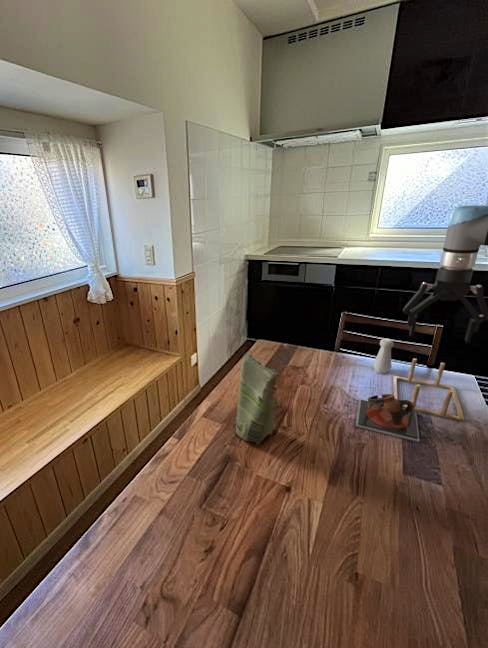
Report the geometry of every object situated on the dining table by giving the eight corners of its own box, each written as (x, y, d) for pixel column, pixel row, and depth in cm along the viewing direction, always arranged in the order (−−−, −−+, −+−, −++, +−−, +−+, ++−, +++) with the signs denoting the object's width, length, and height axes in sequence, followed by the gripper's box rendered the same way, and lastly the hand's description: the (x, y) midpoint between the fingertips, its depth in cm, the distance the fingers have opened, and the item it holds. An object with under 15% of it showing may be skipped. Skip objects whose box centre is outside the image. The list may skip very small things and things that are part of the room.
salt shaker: (393, 371, 126) (400, 340, 121) (383, 376, 124) (390, 345, 119) (378, 365, 131) (384, 335, 126) (369, 370, 129) (375, 339, 123)
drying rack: (453, 388, 115) (461, 365, 111) (463, 421, 100) (472, 396, 96) (393, 377, 123) (398, 355, 119) (393, 406, 108) (399, 382, 104)
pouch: (239, 418, 107) (239, 348, 97) (277, 424, 103) (282, 352, 93) (231, 441, 98) (231, 367, 87) (273, 449, 94) (278, 372, 83)
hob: (416, 413, 104) (417, 410, 103) (419, 442, 93) (420, 438, 92) (358, 401, 111) (359, 397, 111) (355, 426, 100) (356, 423, 100)
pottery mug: (377, 429, 97) (369, 401, 98) (367, 422, 106) (360, 397, 107) (422, 422, 95) (414, 393, 95) (409, 415, 104) (401, 389, 104)
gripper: (403, 268, 93) (390, 338, 102) (522, 272, 82) (496, 349, 91) (401, 262, 99) (389, 328, 108) (512, 265, 88) (488, 338, 97)
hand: (438, 338), depth 99 cm, fingers open, 13 cm apart
